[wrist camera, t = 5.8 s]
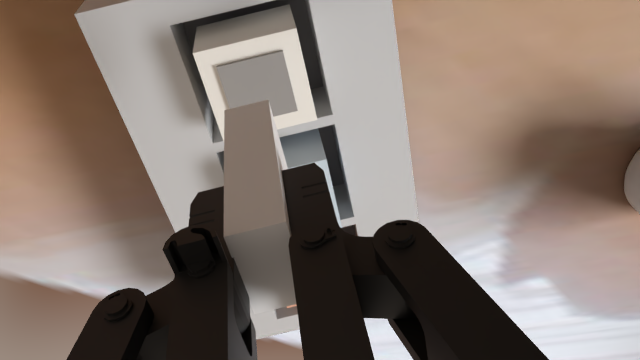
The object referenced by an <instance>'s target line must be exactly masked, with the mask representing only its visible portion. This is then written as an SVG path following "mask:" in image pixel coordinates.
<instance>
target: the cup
mask: <svg viewBox="0 0 640 360" xmlns="http://www.w3.org/2000/svg"><path fill="white" fill-rule="evenodd" d="M624 192H625V195H626V198H627V201H628V202H629V203H630V204H631V205H632V207H633V208H634V209H635V210H636V211H637V212H638V213H639V214H640V149H639V150H638V151H637V152H636V153H635V155H634V157H633V158H632V160H631V162H630V163H629V165H628V168H627V171H626V174H625V180H624Z"/></svg>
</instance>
